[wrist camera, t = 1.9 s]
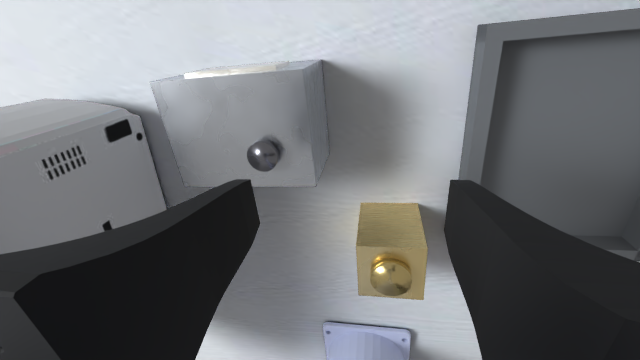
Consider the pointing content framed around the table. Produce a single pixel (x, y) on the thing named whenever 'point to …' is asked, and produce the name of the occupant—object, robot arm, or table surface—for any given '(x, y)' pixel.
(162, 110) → the box
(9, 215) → the stereo radio cassette player
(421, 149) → the table surface
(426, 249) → the fitting block
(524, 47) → the parts tray
